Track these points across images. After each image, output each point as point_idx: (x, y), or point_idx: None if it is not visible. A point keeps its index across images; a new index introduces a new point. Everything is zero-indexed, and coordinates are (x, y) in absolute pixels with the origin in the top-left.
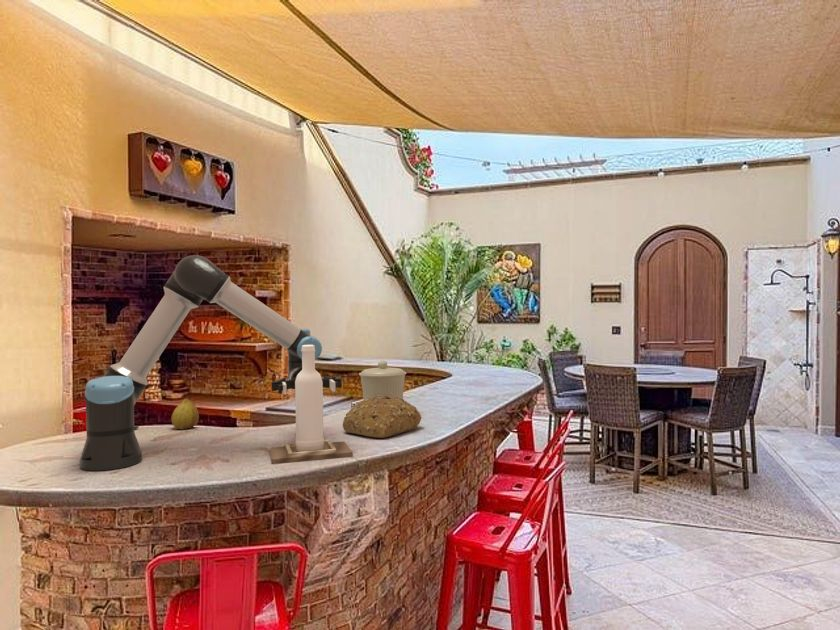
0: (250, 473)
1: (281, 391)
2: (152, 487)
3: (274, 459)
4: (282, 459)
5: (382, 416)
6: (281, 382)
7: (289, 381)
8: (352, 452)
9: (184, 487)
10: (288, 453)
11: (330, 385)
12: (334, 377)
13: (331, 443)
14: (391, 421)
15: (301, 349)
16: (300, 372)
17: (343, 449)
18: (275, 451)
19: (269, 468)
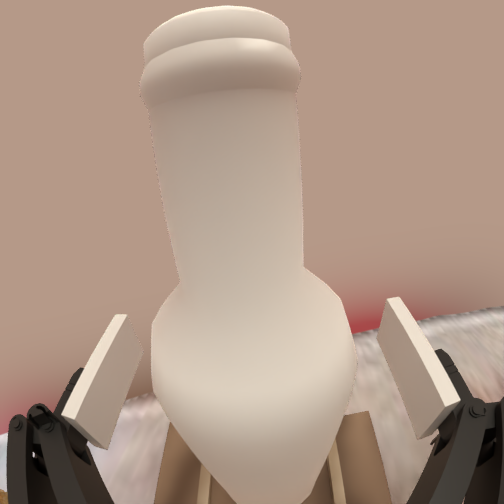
0: None
1: (437, 435)
2: (482, 316)
3: (362, 412)
4: (343, 416)
5: (5, 502)
6: (465, 406)
7: (428, 500)
8: (170, 422)
9: (449, 315)
10: None
11: (106, 406)
12: (40, 404)
13: (200, 488)
14: (3, 492)
15: (297, 61)
16: (316, 278)
17: (180, 452)
18: (372, 479)
19: (363, 387)
